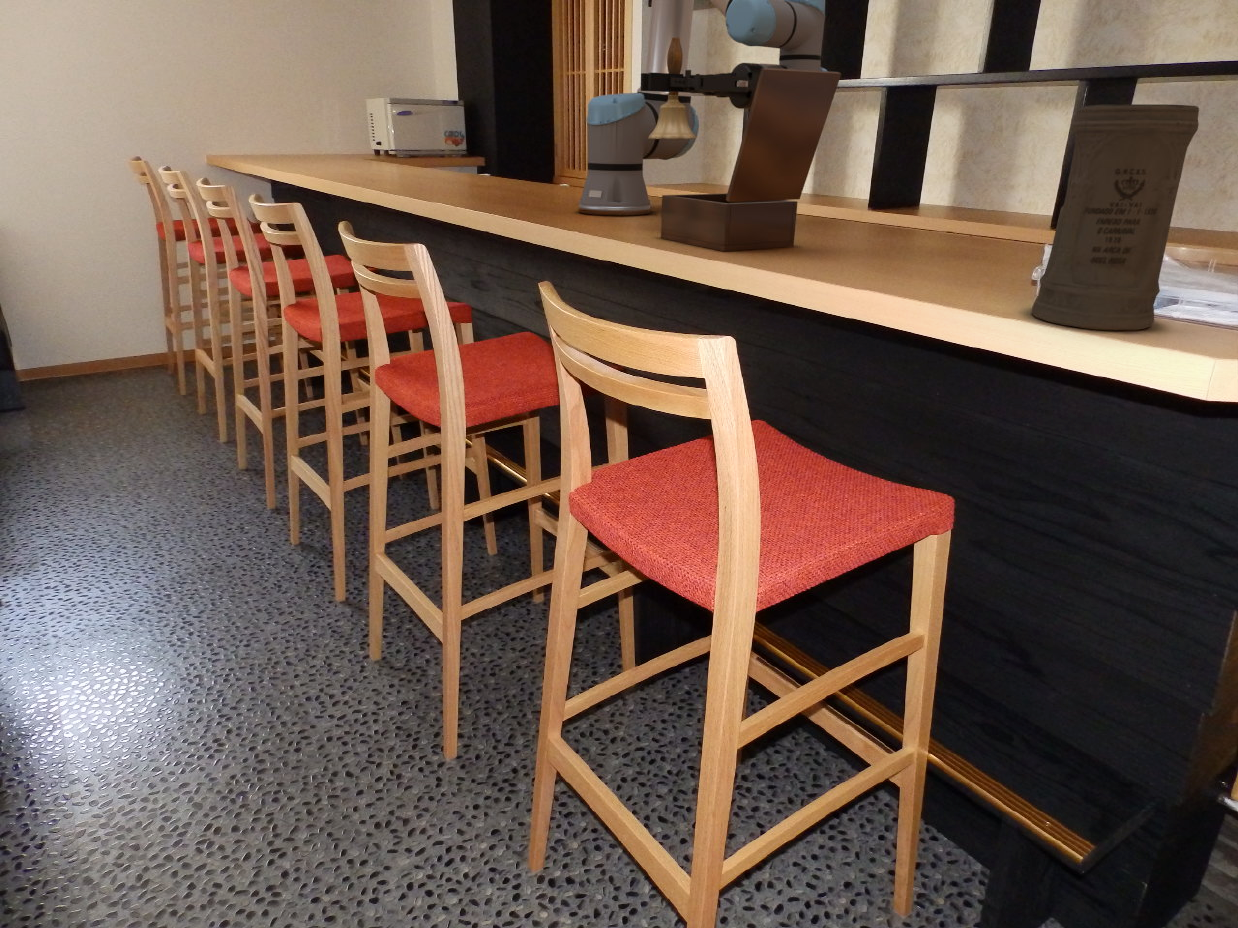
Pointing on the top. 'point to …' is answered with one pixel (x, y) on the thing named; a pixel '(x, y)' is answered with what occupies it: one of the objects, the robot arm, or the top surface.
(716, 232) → the chest
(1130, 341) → the top surface
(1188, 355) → the top surface
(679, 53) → the wooden handled brush
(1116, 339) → the top surface
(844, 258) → the top surface
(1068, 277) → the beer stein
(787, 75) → the chest lid
